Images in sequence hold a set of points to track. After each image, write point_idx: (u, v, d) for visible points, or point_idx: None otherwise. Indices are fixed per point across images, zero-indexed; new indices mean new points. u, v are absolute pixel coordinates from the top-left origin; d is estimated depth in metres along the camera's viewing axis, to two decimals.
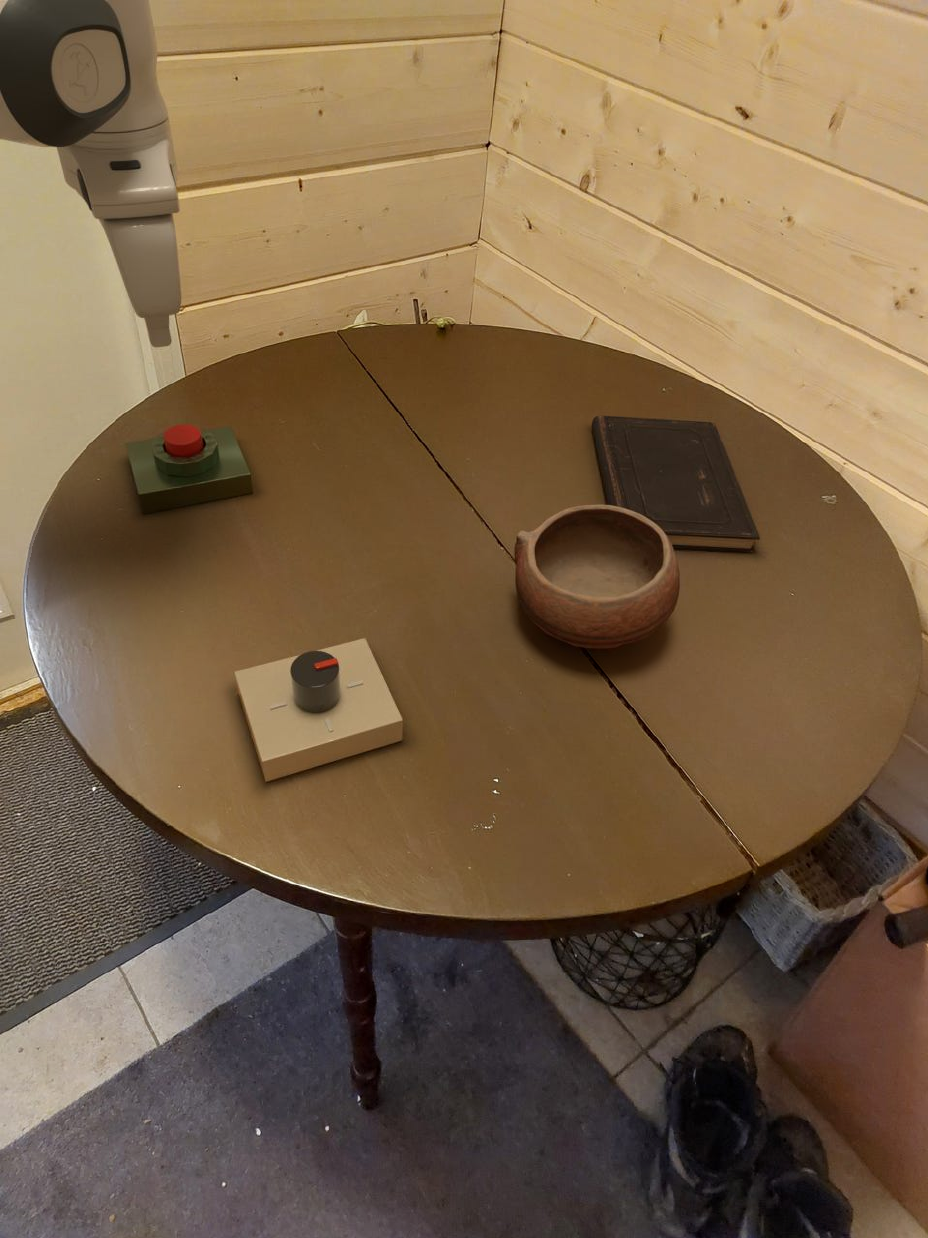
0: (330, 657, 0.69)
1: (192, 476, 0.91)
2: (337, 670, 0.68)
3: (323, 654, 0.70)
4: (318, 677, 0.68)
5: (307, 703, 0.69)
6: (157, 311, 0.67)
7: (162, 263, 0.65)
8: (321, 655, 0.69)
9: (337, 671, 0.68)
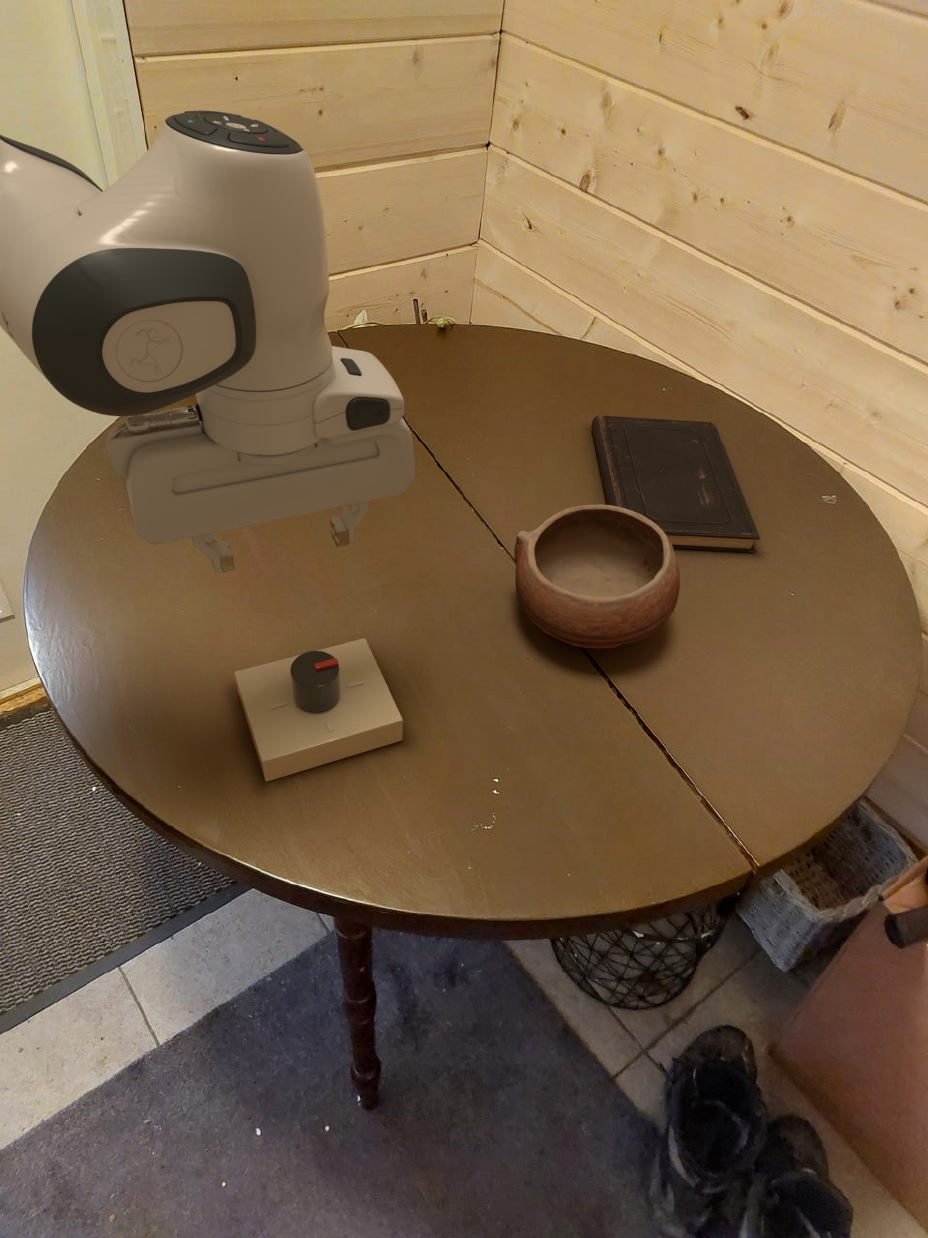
0: (330, 657, 0.69)
1: None
2: (337, 670, 0.68)
3: (323, 654, 0.70)
4: (318, 677, 0.68)
5: (307, 703, 0.69)
6: None
7: None
8: (321, 655, 0.69)
9: (337, 671, 0.68)
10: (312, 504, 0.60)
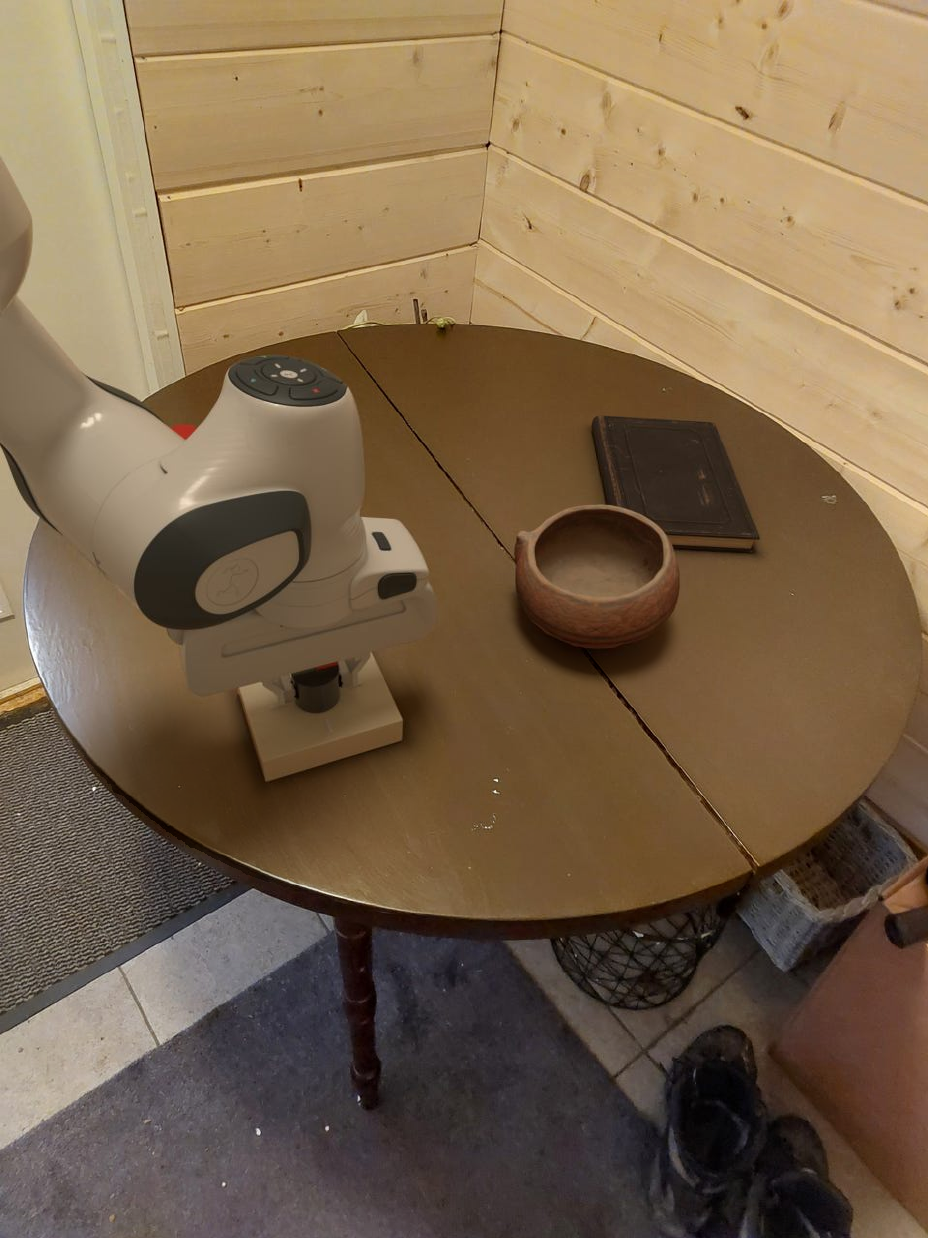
0: None
1: None
2: (337, 670, 0.68)
3: None
4: (318, 677, 0.68)
5: (307, 703, 0.69)
6: None
7: None
8: None
9: (337, 671, 0.68)
10: (344, 654, 0.66)
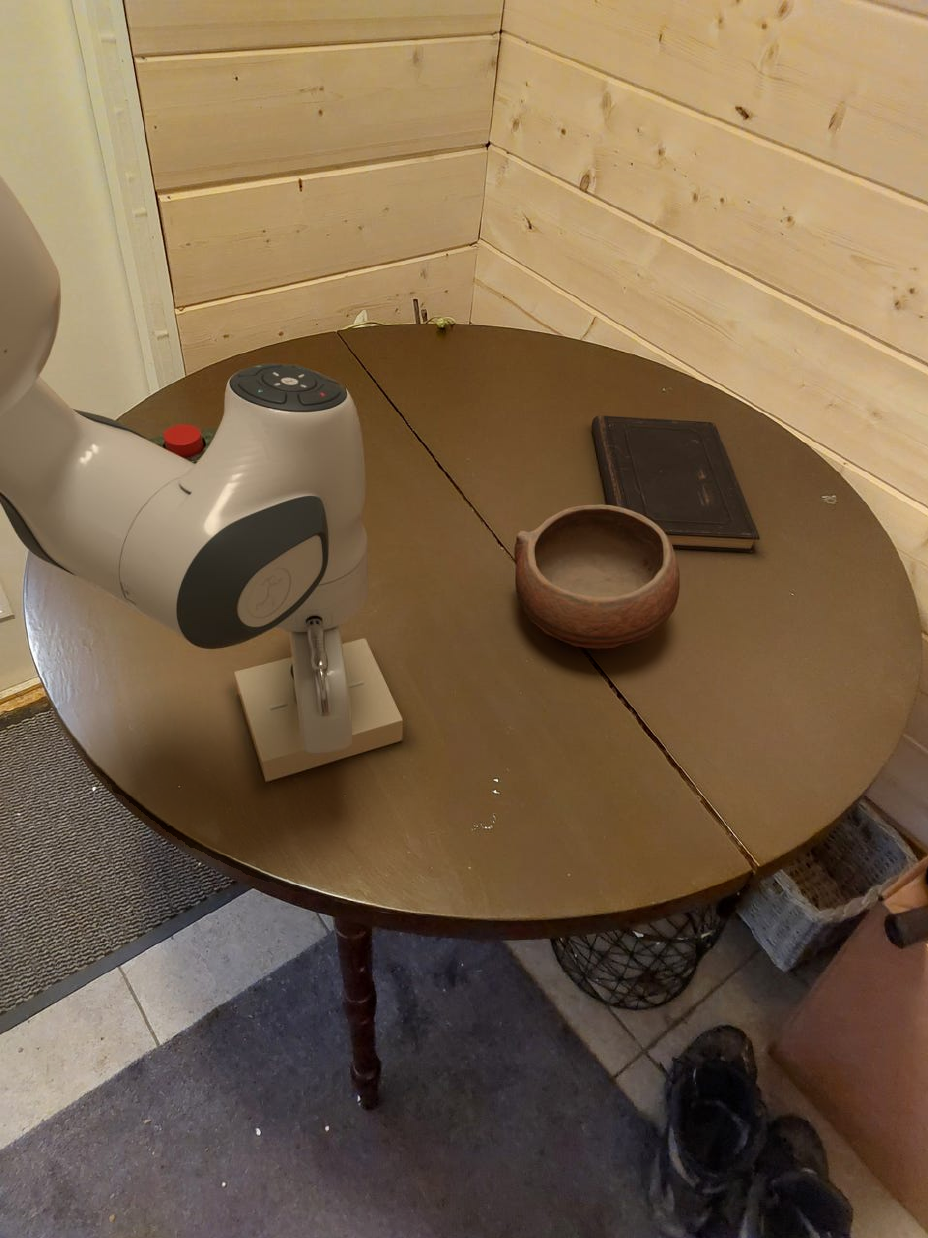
0: None
1: None
2: None
3: None
4: None
5: None
6: None
7: None
8: None
9: None
10: None
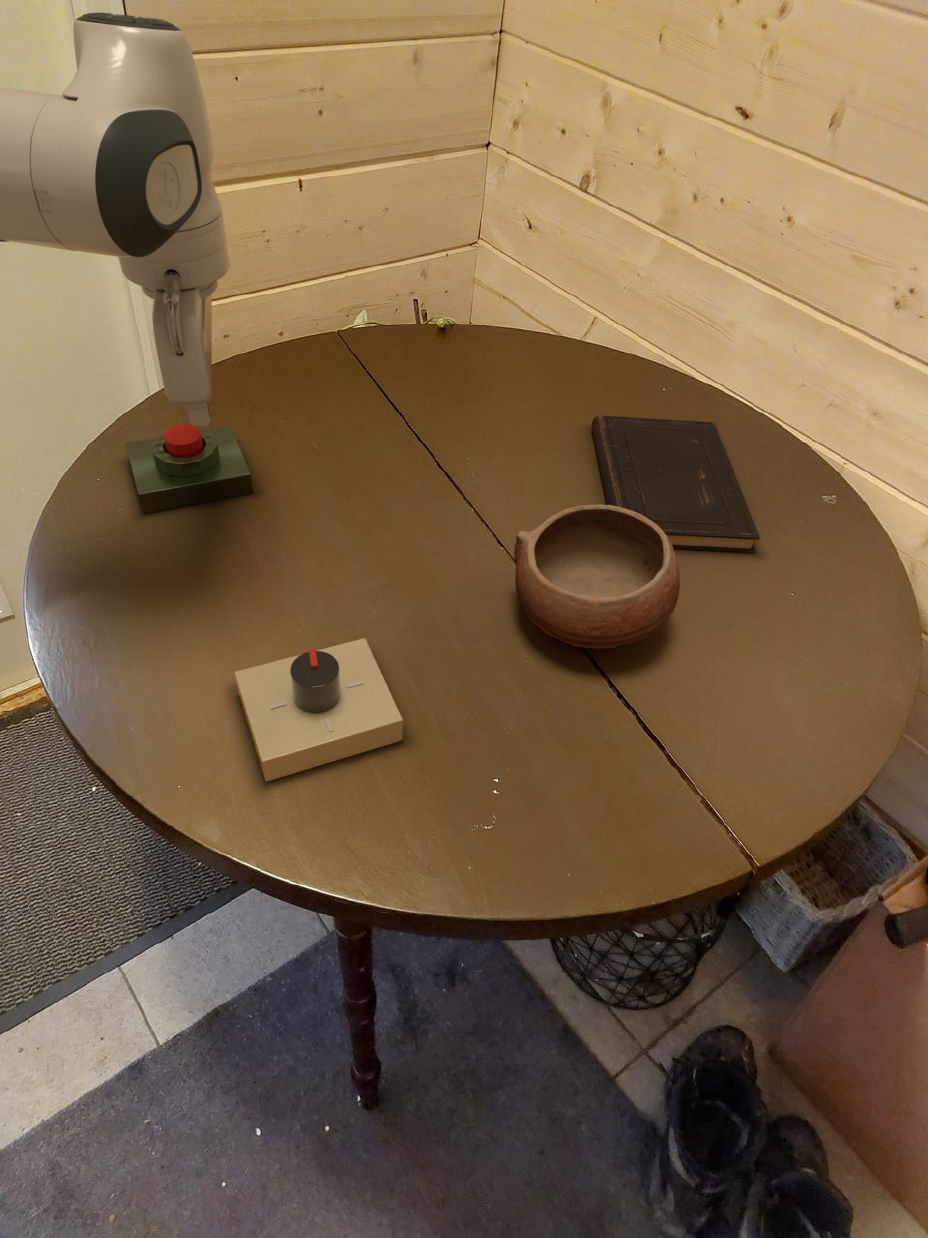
0: (303, 655, 0.69)
1: (192, 476, 0.91)
2: (322, 652, 0.70)
3: (298, 660, 0.69)
4: (326, 667, 0.69)
5: (337, 693, 0.70)
6: None
7: None
8: (298, 662, 0.69)
9: (323, 652, 0.70)
10: (211, 327, 0.77)
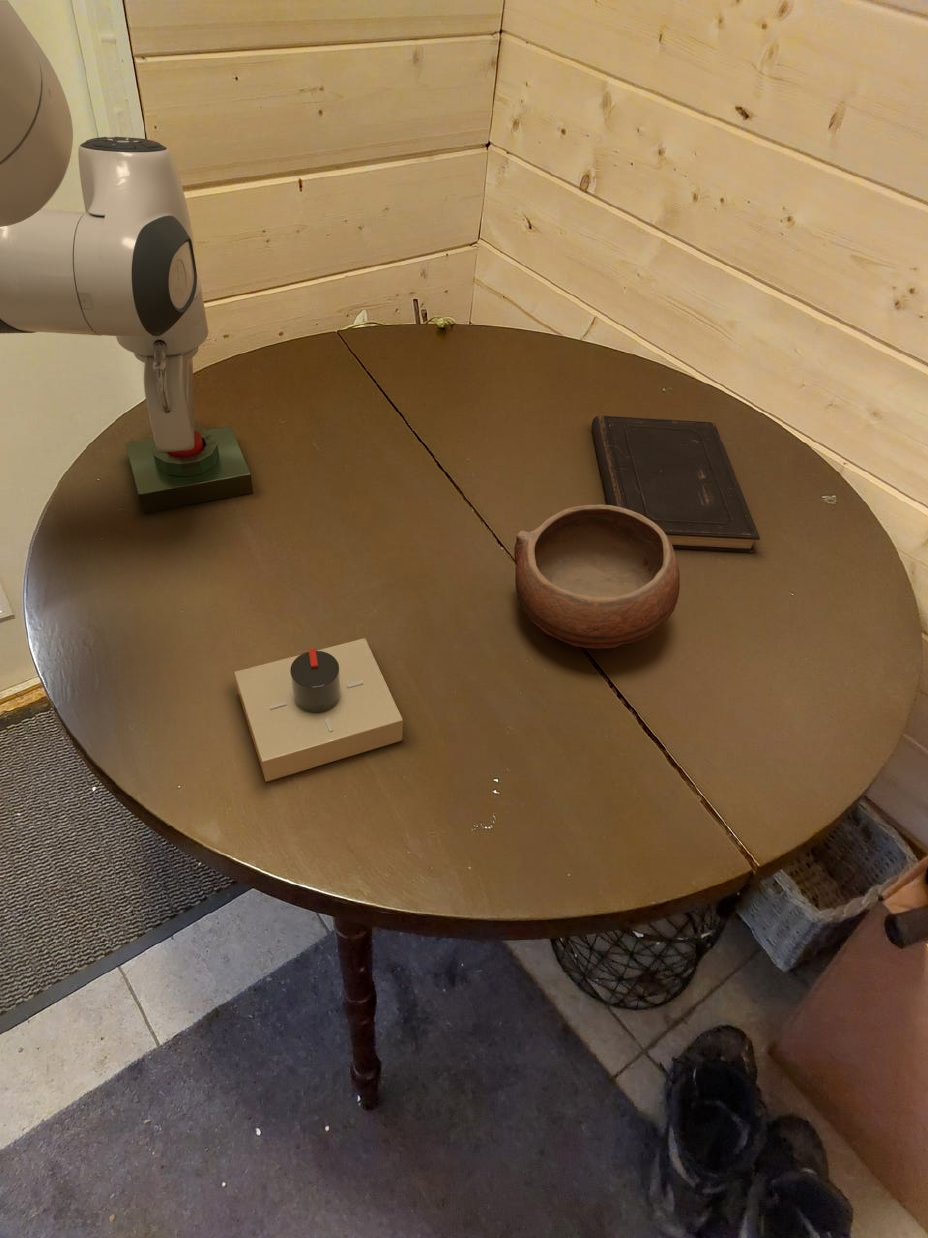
0: (303, 655, 0.69)
1: (192, 476, 0.91)
2: (322, 652, 0.70)
3: (298, 660, 0.69)
4: (326, 667, 0.69)
5: (337, 693, 0.70)
6: None
7: None
8: (298, 662, 0.69)
9: (323, 652, 0.70)
10: (192, 381, 0.89)
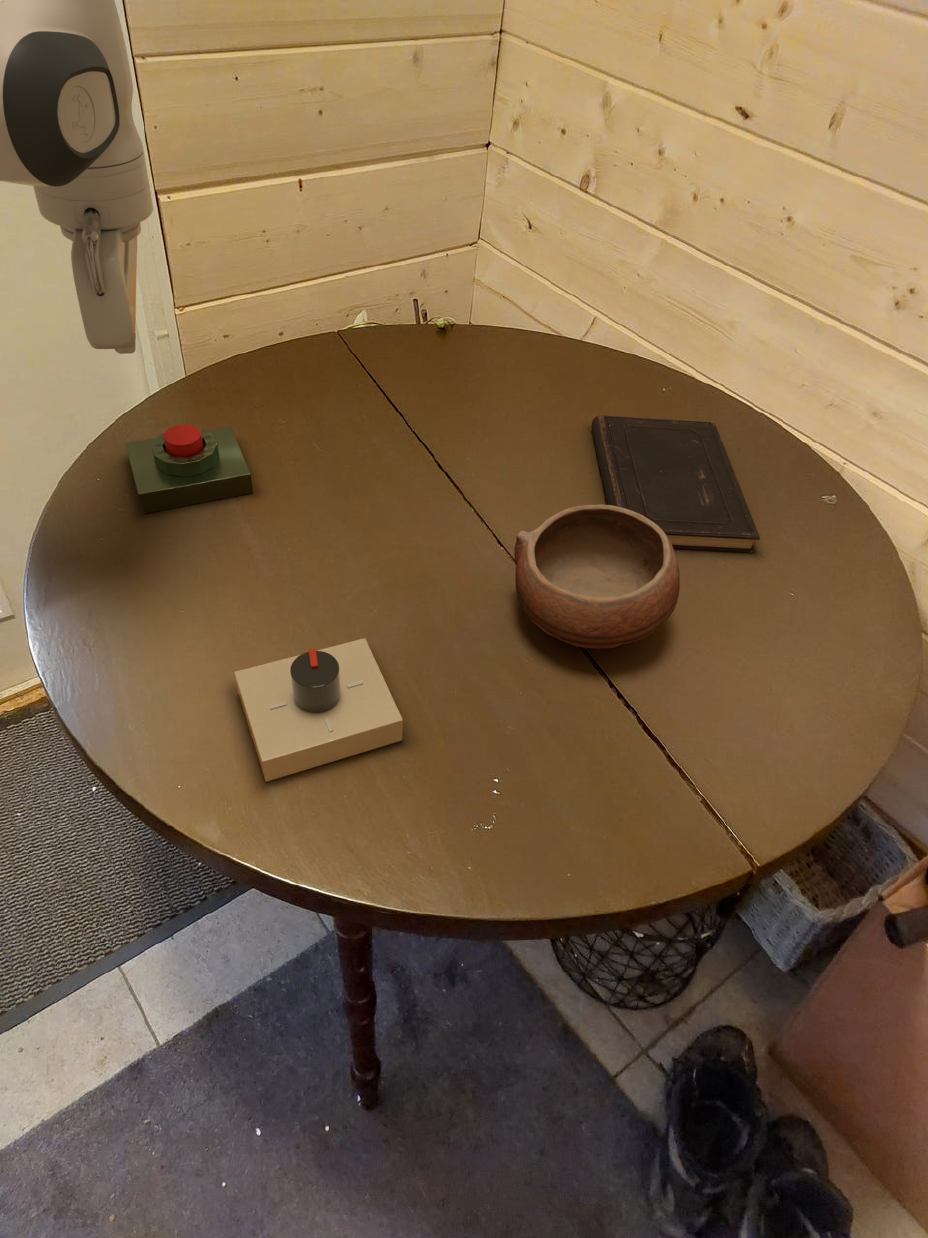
0: (303, 655, 0.69)
1: (192, 476, 0.91)
2: (322, 652, 0.70)
3: (298, 660, 0.69)
4: (326, 667, 0.69)
5: (337, 693, 0.70)
6: None
7: None
8: (298, 662, 0.69)
9: (323, 652, 0.70)
10: (135, 276, 0.75)
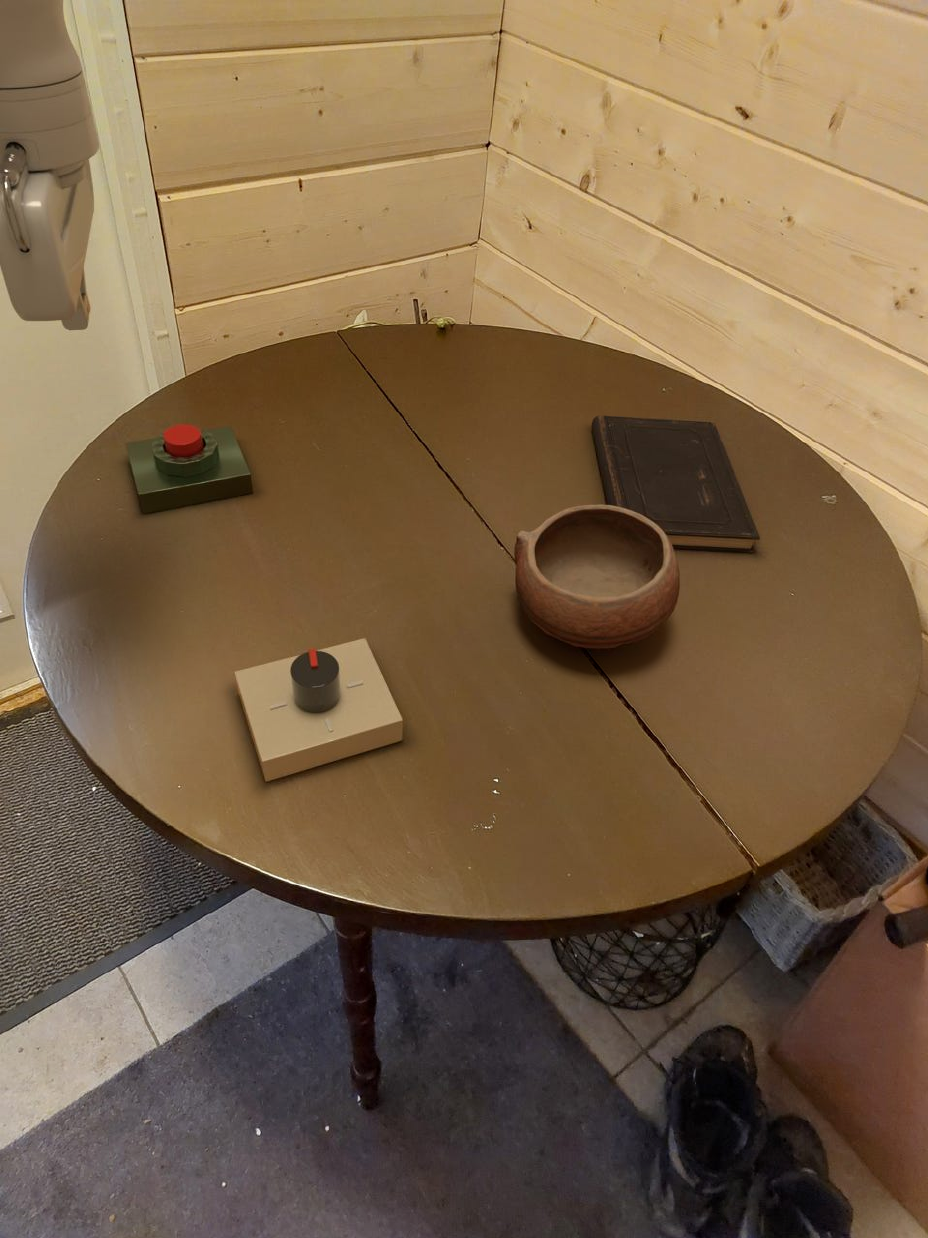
0: (303, 655, 0.69)
1: (192, 476, 0.91)
2: (322, 652, 0.70)
3: (298, 660, 0.69)
4: (326, 667, 0.69)
5: (337, 693, 0.70)
6: None
7: None
8: (298, 662, 0.69)
9: (323, 652, 0.70)
10: (86, 235, 0.62)
